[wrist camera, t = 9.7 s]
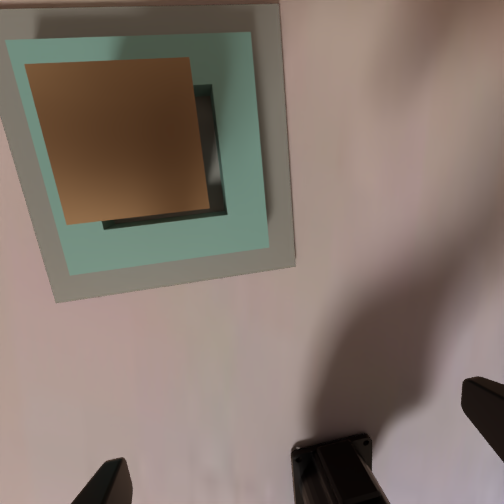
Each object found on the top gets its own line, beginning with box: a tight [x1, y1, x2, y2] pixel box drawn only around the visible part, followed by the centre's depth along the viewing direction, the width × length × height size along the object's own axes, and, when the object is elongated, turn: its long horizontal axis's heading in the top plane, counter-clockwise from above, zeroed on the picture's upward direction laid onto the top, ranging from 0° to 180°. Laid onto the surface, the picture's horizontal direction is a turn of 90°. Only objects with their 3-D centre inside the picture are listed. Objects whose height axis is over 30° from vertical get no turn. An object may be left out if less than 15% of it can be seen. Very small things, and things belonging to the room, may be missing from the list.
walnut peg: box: [24, 57, 210, 225], centre depth 12 cm, size 4×4×8 cm
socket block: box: [0, 4, 296, 303], centre depth 15 cm, size 14×14×2 cm
